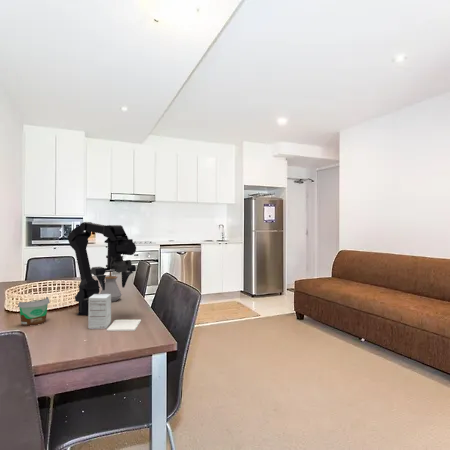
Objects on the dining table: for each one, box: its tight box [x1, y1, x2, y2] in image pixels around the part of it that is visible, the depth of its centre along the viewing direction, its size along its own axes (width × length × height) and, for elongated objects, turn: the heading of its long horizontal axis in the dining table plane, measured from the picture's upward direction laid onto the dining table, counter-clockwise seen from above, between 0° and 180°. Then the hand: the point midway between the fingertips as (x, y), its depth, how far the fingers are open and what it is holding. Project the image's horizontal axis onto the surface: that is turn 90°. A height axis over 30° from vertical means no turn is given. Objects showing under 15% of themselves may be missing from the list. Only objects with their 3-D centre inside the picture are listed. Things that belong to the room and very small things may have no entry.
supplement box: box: [87, 293, 112, 330], centre depth 133 cm, size 7×7×13 cm
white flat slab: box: [106, 319, 142, 332], centre depth 134 cm, size 11×13×1 cm
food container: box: [17, 296, 50, 327], centre depth 135 cm, size 12×6×10 cm, turn 148°
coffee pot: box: [99, 272, 123, 303], centre depth 181 cm, size 21×12×15 cm, turn 20°
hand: (113, 288), depth 142 cm, fingers open, 9 cm apart
